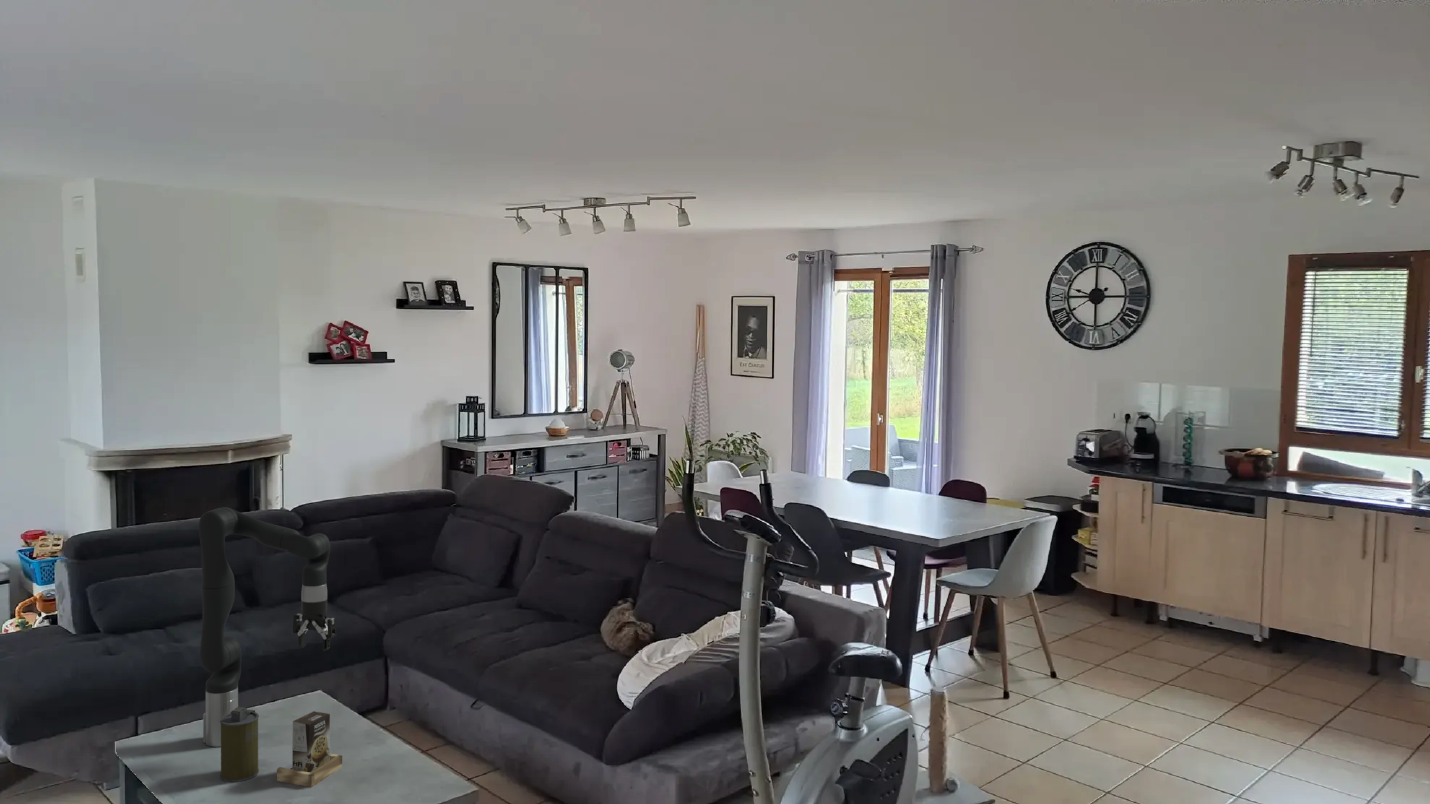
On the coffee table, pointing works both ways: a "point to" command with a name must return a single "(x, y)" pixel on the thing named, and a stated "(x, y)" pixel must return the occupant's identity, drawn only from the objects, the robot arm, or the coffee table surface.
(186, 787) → the coffee table surface
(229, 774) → the canister
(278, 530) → the robot arm
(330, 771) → the oak cradle
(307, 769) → the coffee box
